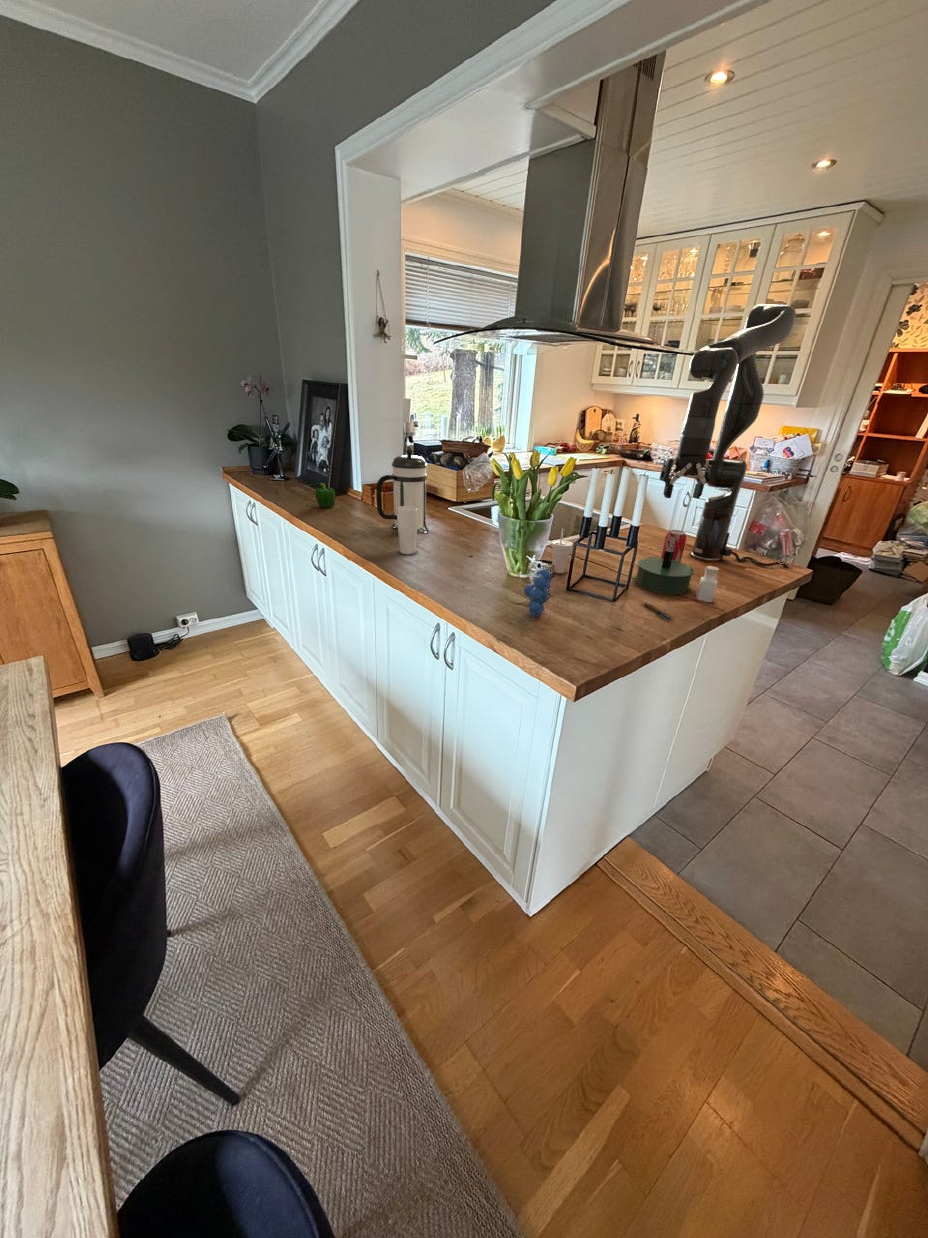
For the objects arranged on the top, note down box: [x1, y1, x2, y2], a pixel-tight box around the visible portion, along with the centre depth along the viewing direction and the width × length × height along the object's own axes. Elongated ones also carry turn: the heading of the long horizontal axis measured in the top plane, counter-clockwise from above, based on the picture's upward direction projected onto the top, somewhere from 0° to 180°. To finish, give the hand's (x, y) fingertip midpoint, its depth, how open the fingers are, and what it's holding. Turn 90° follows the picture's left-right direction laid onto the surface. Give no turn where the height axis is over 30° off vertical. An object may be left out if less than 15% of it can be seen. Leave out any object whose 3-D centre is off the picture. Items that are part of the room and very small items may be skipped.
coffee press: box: [375, 448, 430, 534], centre depth 179 cm, size 17×16×30 cm
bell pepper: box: [314, 482, 336, 509], centre depth 212 cm, size 8×8×10 cm
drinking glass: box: [397, 506, 418, 556], centre depth 160 cm, size 7×7×15 cm
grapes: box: [523, 567, 552, 618], centre depth 122 cm, size 12×7×12 cm, turn 156°
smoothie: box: [551, 528, 574, 574], centre depth 148 cm, size 6×6×14 cm
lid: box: [637, 549, 695, 578], centre depth 141 cm, size 16×16×6 cm
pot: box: [635, 566, 692, 595], centre depth 144 cm, size 15×15×6 cm
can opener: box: [644, 603, 671, 621], centre depth 127 cm, size 9×2×1 cm, turn 17°
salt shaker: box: [695, 565, 720, 604], centre depth 134 cm, size 4×4×10 cm
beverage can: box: [660, 529, 687, 563], centre depth 157 cm, size 6×6×12 cm
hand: (681, 497), depth 133 cm, fingers open, 8 cm apart
